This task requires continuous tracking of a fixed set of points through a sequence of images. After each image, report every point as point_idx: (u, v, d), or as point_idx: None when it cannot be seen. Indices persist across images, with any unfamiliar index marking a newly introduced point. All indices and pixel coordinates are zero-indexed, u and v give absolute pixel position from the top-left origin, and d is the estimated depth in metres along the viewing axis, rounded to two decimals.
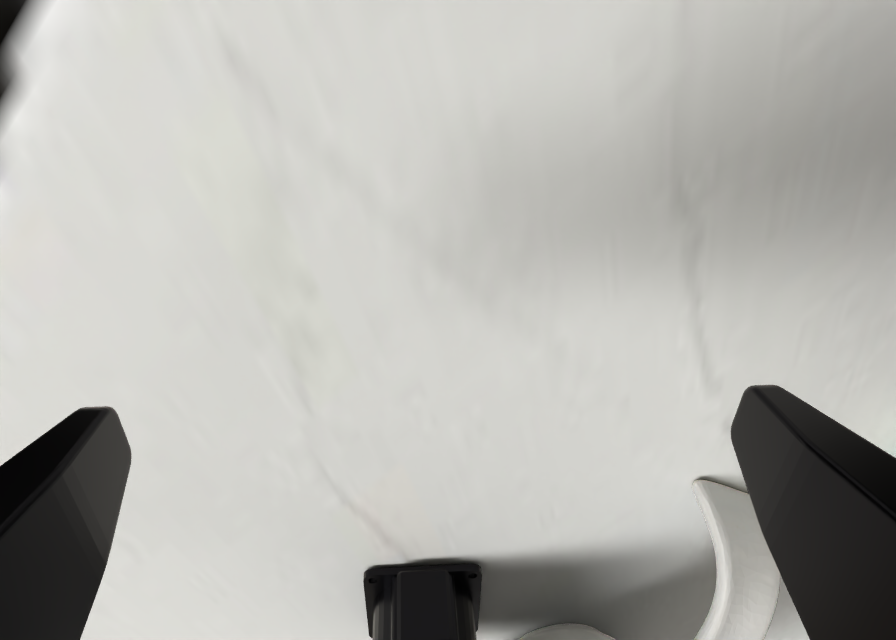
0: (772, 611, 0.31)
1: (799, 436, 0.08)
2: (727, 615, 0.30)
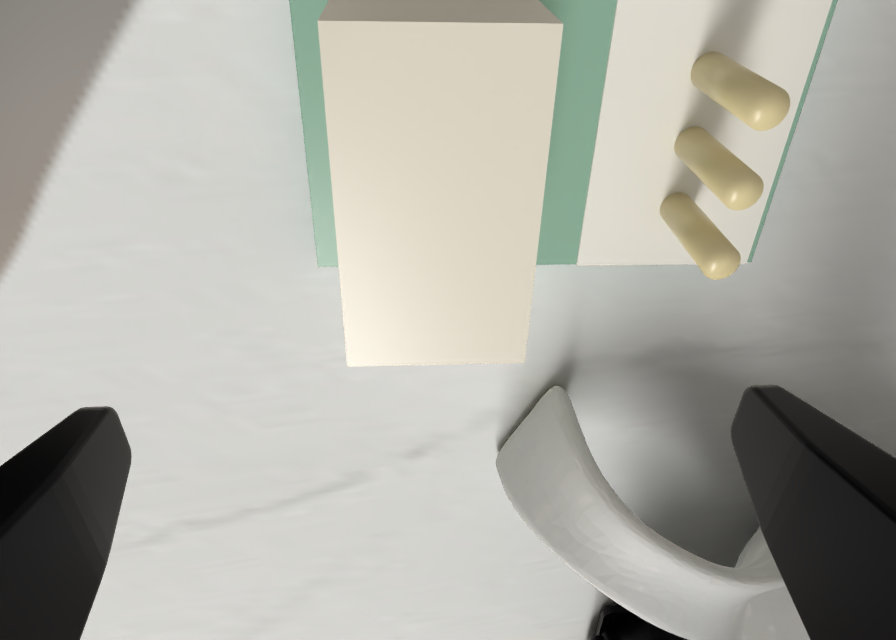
0: (622, 523, 0.22)
1: (799, 436, 0.08)
2: (596, 578, 0.23)
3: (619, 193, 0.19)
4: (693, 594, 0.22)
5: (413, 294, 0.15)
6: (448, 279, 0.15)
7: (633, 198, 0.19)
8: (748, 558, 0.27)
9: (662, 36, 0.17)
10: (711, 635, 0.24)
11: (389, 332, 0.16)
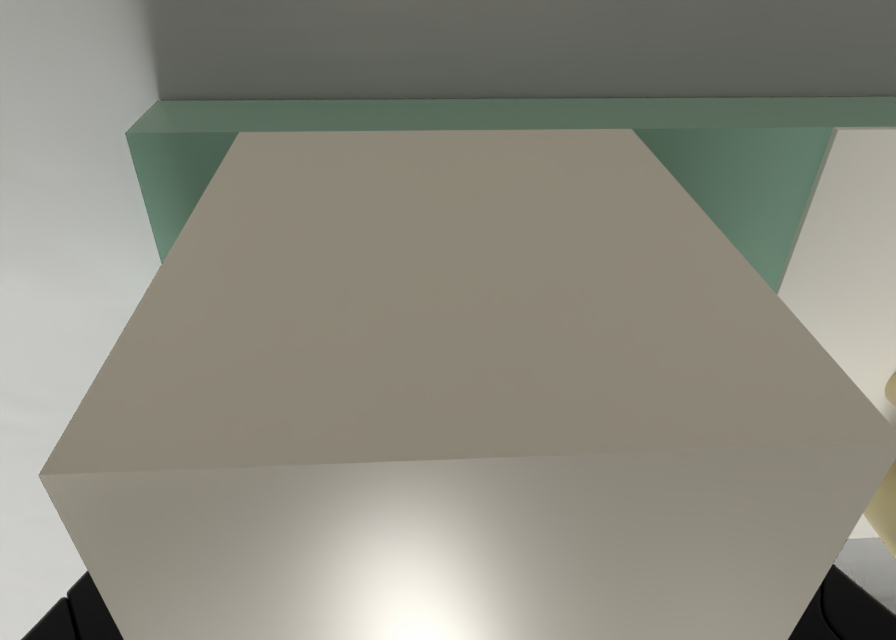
0: None
1: None
2: None
3: None
4: None
5: None
6: None
7: None
8: None
9: None
10: None
11: None
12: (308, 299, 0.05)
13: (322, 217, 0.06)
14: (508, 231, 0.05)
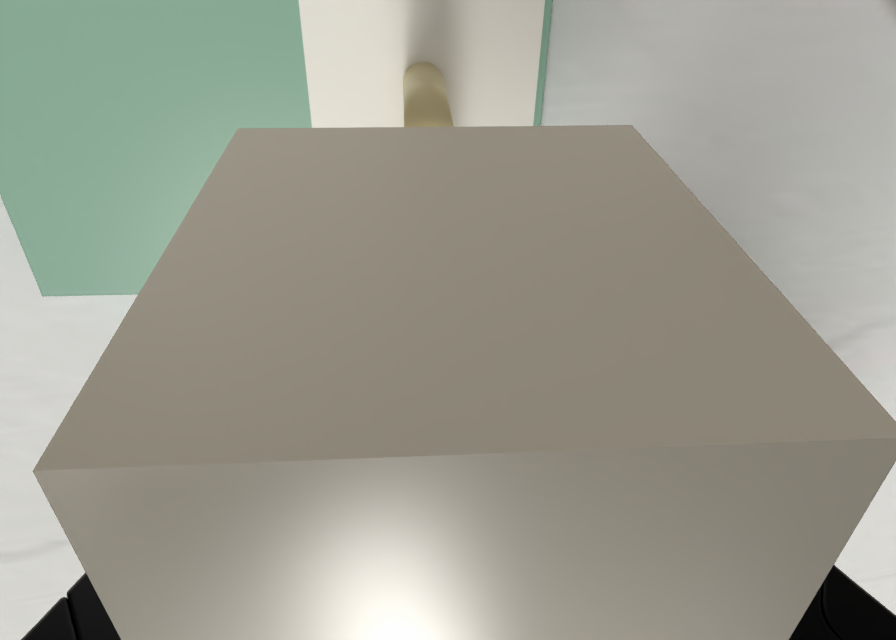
0: None
1: None
2: None
3: None
4: None
5: None
6: None
7: None
8: None
9: (360, 45, 0.15)
10: None
11: None
12: (306, 295, 0.04)
13: (321, 213, 0.06)
14: (508, 227, 0.05)
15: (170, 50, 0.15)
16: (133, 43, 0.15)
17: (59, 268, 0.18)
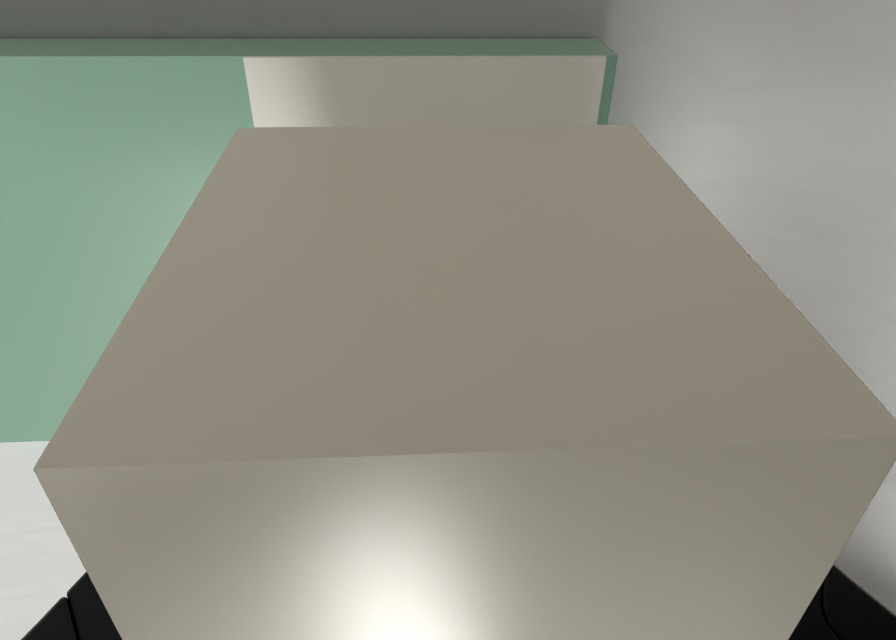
0: None
1: None
2: None
3: None
4: None
5: None
6: None
7: None
8: None
9: None
10: None
11: None
12: (307, 293, 0.04)
13: (321, 212, 0.06)
14: (508, 225, 0.05)
15: (63, 139, 0.10)
16: (8, 131, 0.10)
17: None
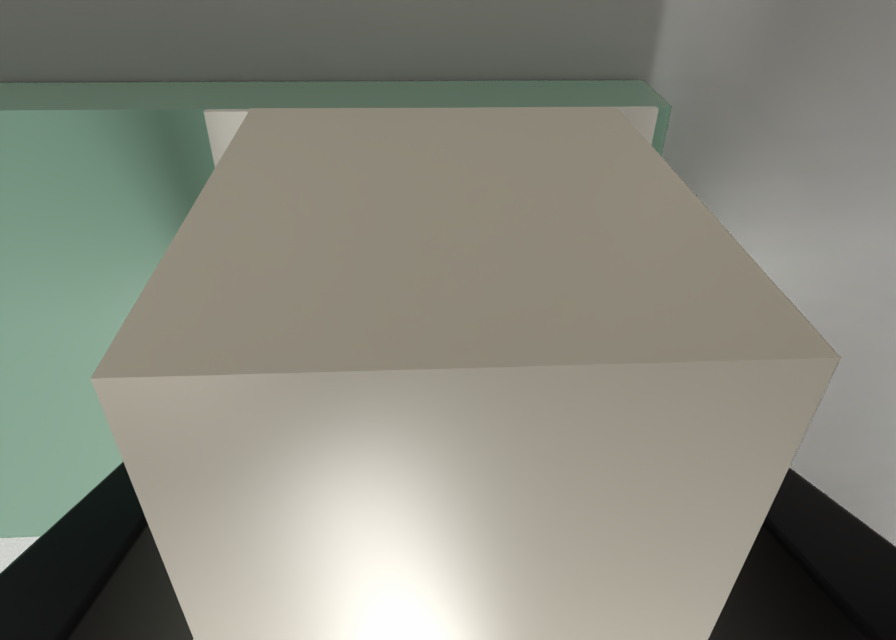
0: None
1: None
2: None
3: None
4: None
5: None
6: None
7: None
8: None
9: None
10: None
11: None
12: (319, 246, 0.05)
13: (330, 180, 0.06)
14: (500, 192, 0.06)
15: None
16: None
17: None
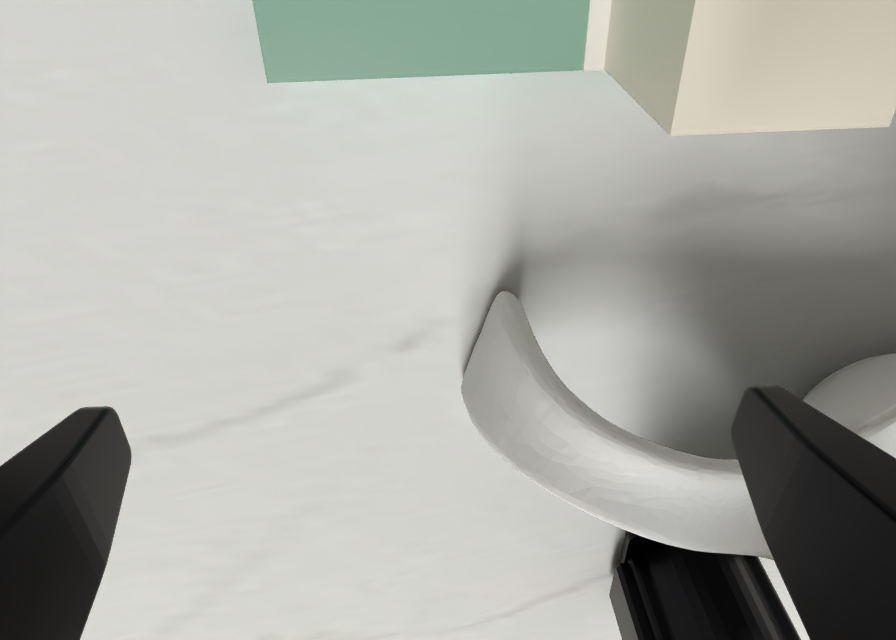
0: (582, 426, 0.19)
1: (799, 436, 0.08)
2: (571, 494, 0.20)
3: None
4: (685, 496, 0.19)
5: (783, 17, 0.12)
6: None
7: None
8: None
9: None
10: (724, 543, 0.21)
11: (736, 80, 0.12)
12: None
13: None
14: None
15: None
16: None
17: (292, 43, 0.16)
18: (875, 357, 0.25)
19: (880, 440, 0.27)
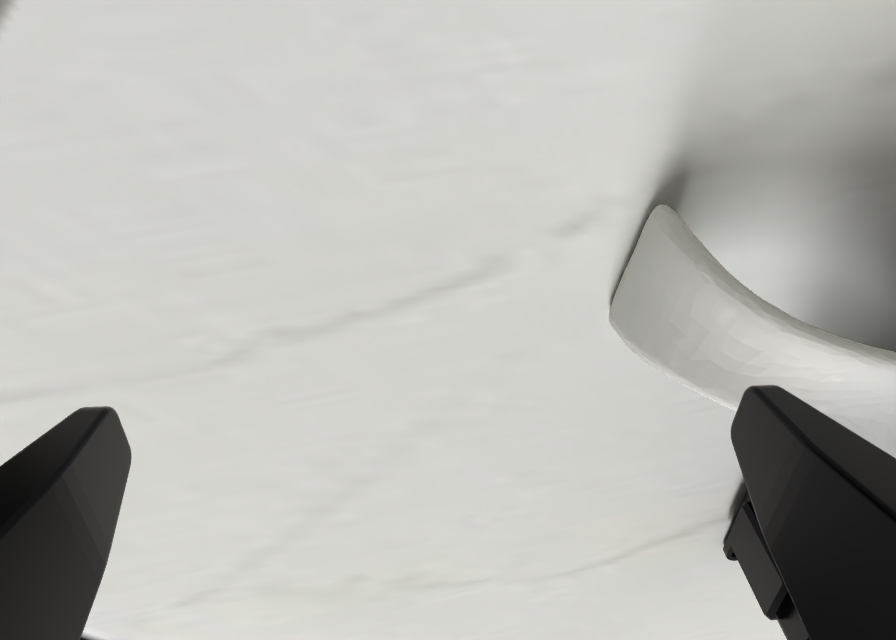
0: (780, 329, 0.17)
1: (799, 436, 0.08)
2: None
3: None
4: (895, 401, 0.18)
5: None
6: None
7: None
8: None
9: None
10: None
11: None
12: None
13: None
14: None
15: None
16: None
17: None
18: None
19: None
